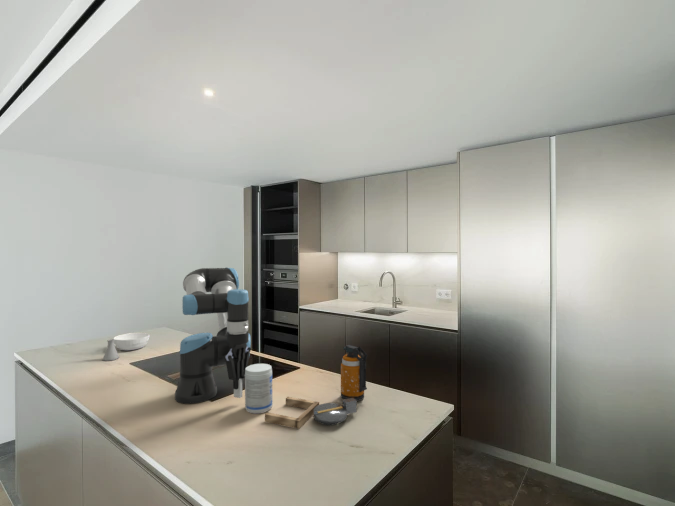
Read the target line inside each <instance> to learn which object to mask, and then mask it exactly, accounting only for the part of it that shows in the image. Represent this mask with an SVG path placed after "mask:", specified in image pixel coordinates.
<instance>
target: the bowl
mask: <svg viewBox="0 0 675 506" xmlns="http://www.w3.org/2000/svg"><path fill="white" fill-rule="evenodd" d="M150 334H151V333H148V332H130V333H129V332H127V333H124V334H119V335H116V336H114V337H113V338H112V339H115V341H114V345H115V348H116V349H118V350H121V351H134V350H139V349H141V348H143V347H145V346H146V345H147V344H148V342H149V339H150Z"/></svg>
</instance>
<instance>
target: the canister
mask: <svg viewBox="0 0 675 506" xmlns="http://www.w3.org/2000/svg"><path fill="white" fill-rule="evenodd" d="M343 350H344V351H345V352H346V353H345V354H344V355H343V356H342V358H341V361H342V362H341V363H340V398H341V400H344V399H349V398H354V399H355V400H356V402H358V401H362V400H363V399H364V398H365V391H366V390H368V388H367V358H368V354H367V353H366V352H365V351H364V349H362V347H361V346H358V347H357V346H354V345H351V344H348V345H345V346H343Z"/></svg>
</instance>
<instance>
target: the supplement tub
mask: <svg viewBox="0 0 675 506" xmlns="http://www.w3.org/2000/svg"><path fill="white" fill-rule="evenodd" d="M244 376H245V378H244V405H245V409H244V410H245V411H246V412H247V413H249V414H262V413H263V414H265V413H267V412H269V411H270V410H271V409H272V407H273V368H272V365H270V364H268V363H254V364H250V365H248V367H246V368H245V375H244Z"/></svg>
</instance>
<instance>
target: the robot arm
mask: <svg viewBox="0 0 675 506" xmlns="http://www.w3.org/2000/svg"><path fill="white" fill-rule="evenodd" d="M182 287H183V290H184V291H185V292H186V294H185V295H183V296H182V299H181V301H182V304H181V305H182V307H181V309H182V314H183V315H184V316H188V315H189V316H196V315H207V314H208V315H209V314H217V323H218V328H219V329H218V331H217V333H216V334H215V335H216V336H215V335H214V336H213V334H212V333H211V332H199V333H195V334H192V335H189V336H186V337H184V338H183V339H182V340H181V341H180V342H179V344H180V345H179V379H178V383H177V386H176V389H175V393H174V400H175V401H176V402H177V403H180V404H196V403H198V404H199V403H202V402H206V401H208V400H211V399H212V398H214V397H216V395H217V394H218V387H217V384H216V382H215V378H214V375H213V367H222V366H226V370H227V376H228V379H229V380H230V381H232V388H233V397H234V398H238V399H241V398H243V387H244V385H243V384H244V381H243V379H245V368H246V367H248V366H249V361H250V356H251V355H250V354H251V350H252V347H251V343H252V342H251V340H252V339H251V338H252V337H251V334H250V333H249V332H248V331H249V300H250V298H249V292H248V291H249V290H247V289H243V288H241V289H240V279H239V274H238V272H237V270H236V269H235V268H233V267H209V268H208V267H206V268H205V267H202V268H198V269H195V270H192V271H191V272H189V273H188V274H187V275H185V277H184V278H183V281H182Z"/></svg>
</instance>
